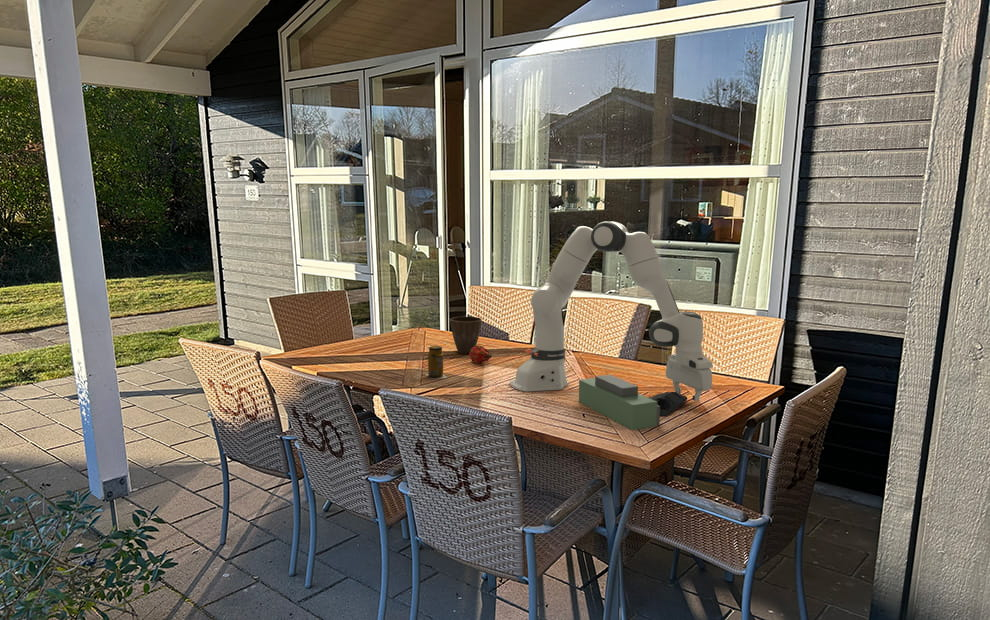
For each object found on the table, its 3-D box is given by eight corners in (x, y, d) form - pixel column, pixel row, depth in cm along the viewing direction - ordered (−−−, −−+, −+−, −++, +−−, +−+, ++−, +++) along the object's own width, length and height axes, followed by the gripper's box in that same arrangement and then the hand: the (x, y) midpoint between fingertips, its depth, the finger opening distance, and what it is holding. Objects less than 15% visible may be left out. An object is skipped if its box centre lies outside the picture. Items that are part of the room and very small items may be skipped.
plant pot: (463, 347, 314) (463, 315, 312) (488, 351, 306) (488, 318, 303) (443, 352, 302) (443, 319, 300) (468, 357, 294) (468, 322, 291)
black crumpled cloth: (695, 404, 224) (695, 391, 223) (663, 419, 208) (663, 405, 208) (656, 396, 234) (656, 383, 234) (622, 409, 219) (623, 395, 218)
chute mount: (632, 430, 197) (633, 395, 195) (578, 401, 226) (579, 371, 224) (661, 425, 201) (662, 391, 199) (605, 398, 230) (606, 368, 228)
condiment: (441, 373, 265) (441, 344, 263) (447, 378, 257) (447, 349, 255) (424, 374, 263) (424, 346, 261) (429, 379, 255) (429, 350, 253)
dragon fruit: (471, 363, 289) (488, 372, 280) (460, 354, 283) (477, 363, 274) (482, 347, 290) (498, 355, 281) (470, 338, 284) (487, 347, 276)
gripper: (662, 353, 230) (660, 390, 232) (701, 365, 211) (699, 406, 214) (676, 351, 233) (674, 388, 235) (716, 363, 214) (714, 403, 216)
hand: (686, 397), depth 224 cm, fingers open, 8 cm apart
